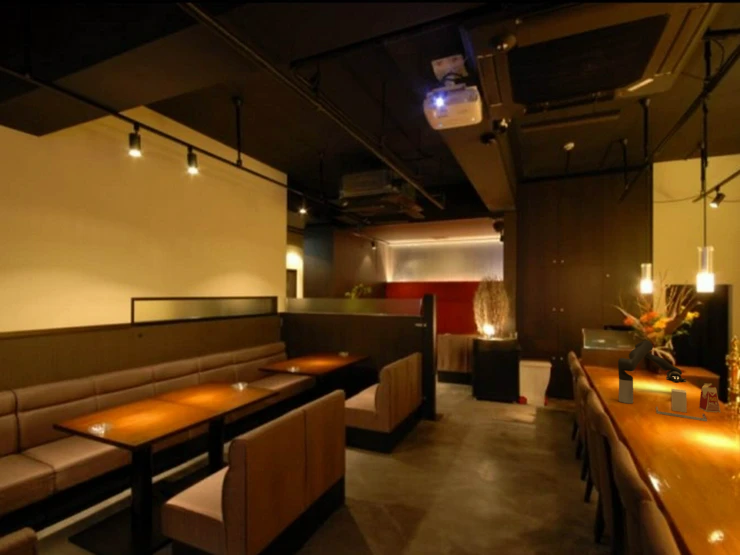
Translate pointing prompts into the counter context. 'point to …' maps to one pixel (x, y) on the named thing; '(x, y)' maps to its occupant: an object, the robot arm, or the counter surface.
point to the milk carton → (709, 399)
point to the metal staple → (681, 415)
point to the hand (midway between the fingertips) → (676, 381)
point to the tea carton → (679, 400)
